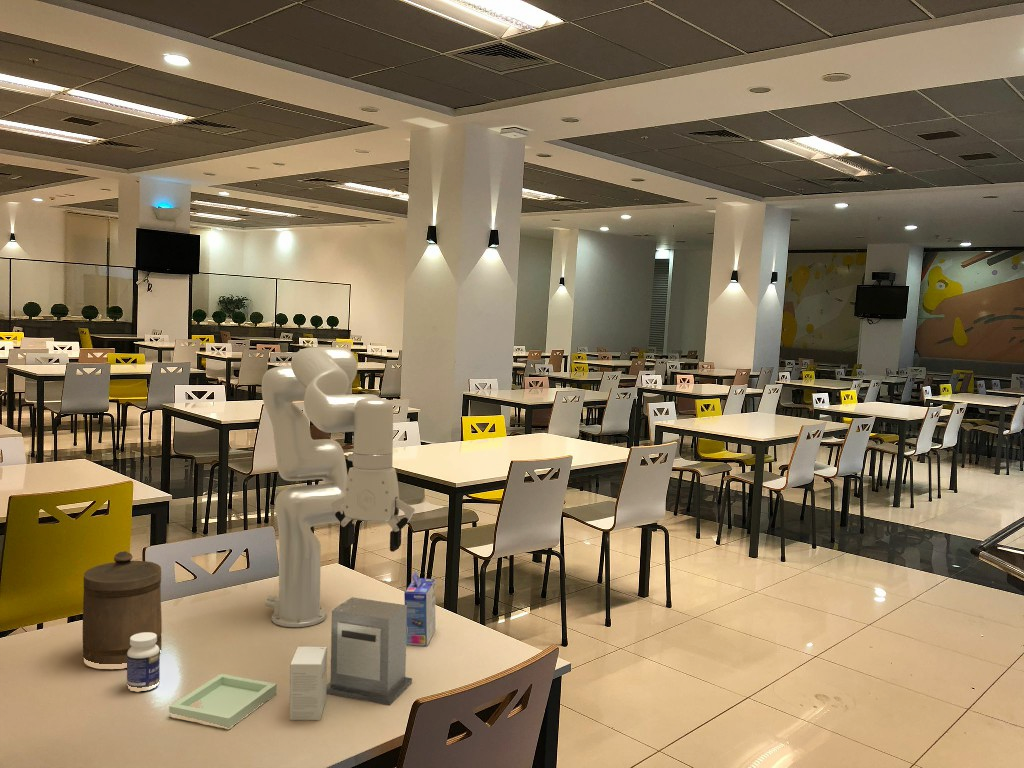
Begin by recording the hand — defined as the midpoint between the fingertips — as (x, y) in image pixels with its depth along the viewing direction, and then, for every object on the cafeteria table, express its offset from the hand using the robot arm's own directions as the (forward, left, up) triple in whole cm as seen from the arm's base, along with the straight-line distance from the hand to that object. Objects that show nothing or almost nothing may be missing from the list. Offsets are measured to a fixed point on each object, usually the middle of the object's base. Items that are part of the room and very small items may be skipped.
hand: (371, 547), depth 163 cm
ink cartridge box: (+1, +23, -27) cm, 35 cm away
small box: (-4, -16, -27) cm, 32 cm away
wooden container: (-52, -9, -27) cm, 59 cm away
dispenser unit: (+2, -4, -27) cm, 27 cm away
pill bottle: (-38, -19, -27) cm, 50 cm away
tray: (-19, -20, -27) cm, 38 cm away
